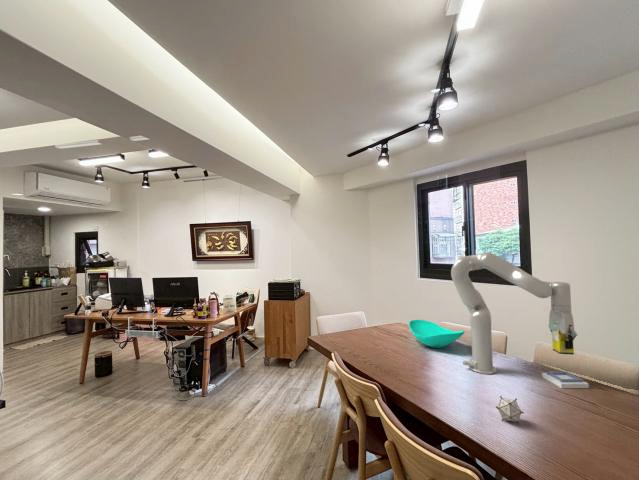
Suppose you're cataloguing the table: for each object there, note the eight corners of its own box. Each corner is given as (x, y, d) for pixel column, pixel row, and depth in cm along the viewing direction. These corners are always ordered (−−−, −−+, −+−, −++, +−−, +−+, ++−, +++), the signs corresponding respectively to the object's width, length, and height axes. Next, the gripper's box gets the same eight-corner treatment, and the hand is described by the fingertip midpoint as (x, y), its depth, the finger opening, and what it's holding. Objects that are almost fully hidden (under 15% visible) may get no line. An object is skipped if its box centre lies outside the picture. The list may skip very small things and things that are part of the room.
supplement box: (574, 354, 139) (573, 330, 139) (559, 354, 140) (558, 330, 141) (566, 350, 145) (565, 327, 145) (552, 350, 146) (551, 327, 146)
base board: (561, 388, 136) (561, 380, 136) (542, 377, 148) (542, 370, 148) (588, 388, 136) (588, 380, 136) (567, 377, 148) (566, 370, 148)
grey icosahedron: (503, 429, 112) (486, 401, 117) (523, 419, 112) (505, 392, 118) (513, 429, 104) (494, 399, 109) (535, 419, 105) (514, 389, 110)
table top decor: (476, 351, 186) (476, 330, 187) (443, 358, 175) (442, 335, 175) (429, 336, 222) (428, 317, 223) (399, 341, 211) (398, 321, 212)
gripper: (540, 305, 152) (541, 341, 151) (567, 312, 135) (569, 352, 134) (555, 305, 152) (556, 341, 151) (584, 311, 135) (586, 352, 134)
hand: (562, 346), depth 143 cm, fingers closed on supplement box, 6 cm apart
